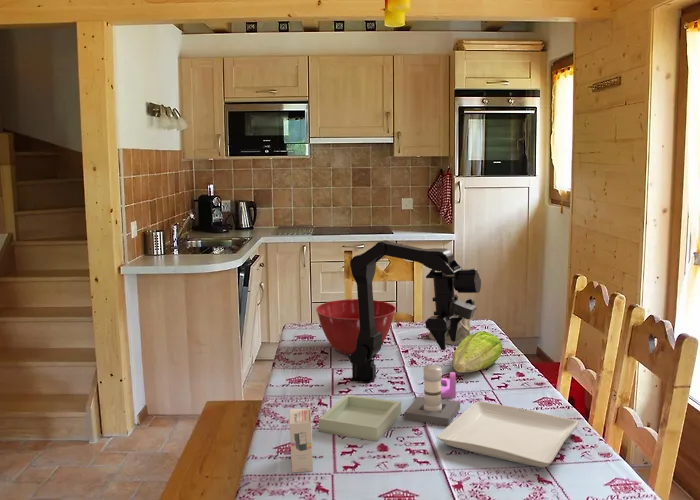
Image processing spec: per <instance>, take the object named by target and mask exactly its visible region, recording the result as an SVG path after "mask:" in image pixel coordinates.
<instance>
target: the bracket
mask: <svg viewBox="0 0 700 500" xmlns="http://www.w3.org/2000/svg"><path fill="white" fill-rule="evenodd" d="M456 378H457V377H456V372H454V371H453V372H449V378H446V377H442V380H441V399H442V398H443V399H444V398H448V399H449V398H457V394H456V393H457V392H456V391H457V390H456V389H457V387H456V386H457V385H456V384H457V383H456V382H457V381H456V380H457V379H456ZM442 385H443V386H442ZM444 385H446V386H444Z"/></svg>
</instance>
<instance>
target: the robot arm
mask: <svg viewBox="0 0 700 500" xmlns="http://www.w3.org/2000/svg"><path fill="white" fill-rule="evenodd" d="M385 256H387V257H391V258H397V259H401V260H406V261H410V262H411V261H412V262H415V263H419V264H421V265H423V266H424V267H426V268H428V269H430V271H429V272H428V274H427V275H425V278H426V279H432V280H433V282H432V283H433V291H434V296H433V297H432V302H435V303H434V305H435V310H434V311H433V315H431V316H430V317H428V318H427V319H426V321H425V329H427V331H428V332H431V334H432V335H433V337H434V338H435V340H436V343H437V345H438V347H439V349H440V350H441V351H445V350H446V347H447V343H446V333H447V331H448V333H449V336H450V338H451V340H452V341H454V342H455V341H456V336H457V331H458V326H459V322H460V321H461V320H462V319H463V318H465V319H468V320H469V319H470V320H471V319H472V318H473V317H474V315H475V311H476V310H477V305H476V303H475V300H474V299H473V298H468V299H466V300H460V299H459V296H458V295H457V294H456V293H455V291H457V293H458V294H479V293H480V292H481V287H482V280H481V277H480V274H479V272H478V269H477V268H471V269H470V268H467V269H465V268H462V266H461V265H460V264H459V262H458V261H457V260H456V259H455V256H454V253H453V252H452V250H450V249H449V248H445V247H443V248H441V247H440V248H439V247H438V248H437V247H436V248H435V247H433V248H422V247H418V246H413V245H407V244H402V243H398V242H393V241H389V240H387V239H386V240H385V239H384V240H381V241H378V242H377V243H375V244H374V245H373V246H372V247H371V248H368V250H366V251H364V252H362V253H360V254H357V255H355V256H352V258H351V259H350V262H349V266H350V267H349V268H350V272H351V276H352V277H353V279H354V282H355V283H356V293H357V294H356V295H357V299H358V309H359V325H360V330H359V333H358V336H357V340H356V350H355V351H354V352H353V353H352V354H351V355H349V356H348V360H349V362H350V364H351V370H352V371H351V372H352V377H351V378H350V382H357V383H364V384H370V383H372V382H373V380H375V379H376V378H377V367H376V366H377V365H376V364H375V358H376V356H377V353H379V352H380V351H381V350H382V346H383V345H384V342H382V332H377V330H376V328H375V321H374V305H373V300H374V293H373V292H374V290H373V280H374V277H375V274H376V266H377V262H379V261H380V260H382V258H384V257H385ZM458 299H459V300H458ZM436 315H438V316H436ZM435 340H434V341H435Z"/></svg>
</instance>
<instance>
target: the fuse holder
mask: <svg viewBox="0 0 700 500" xmlns="http://www.w3.org/2000/svg"><path fill="white" fill-rule="evenodd" d="M441 403H442V411H441V413H439V412H432V411H425V410H424V397H423V396H417V397H416V399H415V400H413V402H412V403H411V404H410V406H408V407H407V408H406V410H405V411H404V419H403V420H407V421H414V422H420V423H425V424H426V423H427V424H433V425H439V426H446V427H448V426H449V425H450V424H451V423H452V422H453V421H454V420H455V419H454V418H455V417H456V416H457V414H458V413H459V411H460V410H461V402H460V401H454V400H448V399H447V400H446V399H441Z"/></svg>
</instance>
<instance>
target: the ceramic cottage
mask: <svg viewBox="0 0 700 500" xmlns="http://www.w3.org/2000/svg"><path fill="white" fill-rule="evenodd" d="M458 300H459V301H460V299H459V298H458ZM435 316H438V315H435ZM470 321H471V319H469V320H468V319H465V318H463V319H462V320H461V321H460V322H459V326H458V331H457V336H456V341H455V342H454V341H452V340H451V338H450V336H449V333H448V331H447V333H446V345H447V344H448V345H452V346H459V344H460V343H461V342H462V341H463V340H464V339H465V338H466V337H467V336H468V335H471V334H472V333H471V330H472V327H471V322H470ZM428 338H429V339H430V340H431V341H436V340H435V338H434V337H433V335H432V334H431V332H430V331H428ZM436 342H437V341H436Z"/></svg>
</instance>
